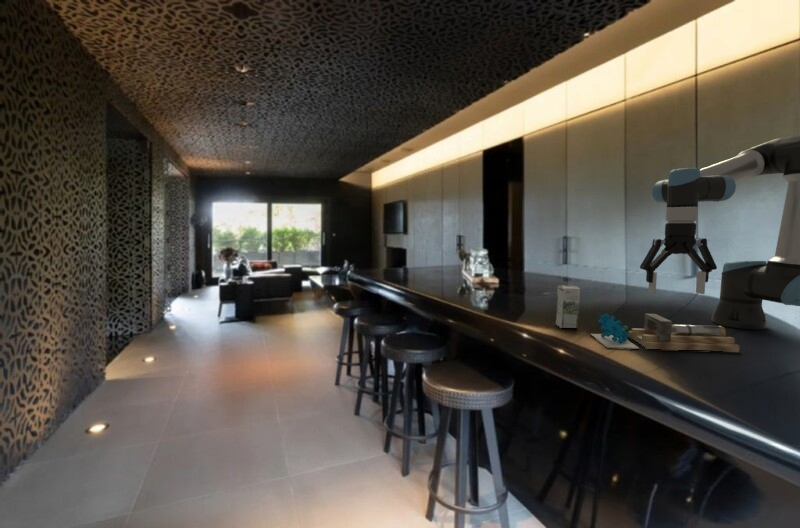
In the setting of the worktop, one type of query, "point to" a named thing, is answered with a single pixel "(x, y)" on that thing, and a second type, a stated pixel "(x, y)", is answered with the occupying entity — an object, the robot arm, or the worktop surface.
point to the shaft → (698, 330)
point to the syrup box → (567, 306)
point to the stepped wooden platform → (677, 337)
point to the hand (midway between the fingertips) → (675, 293)
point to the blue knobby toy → (613, 328)
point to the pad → (611, 344)
